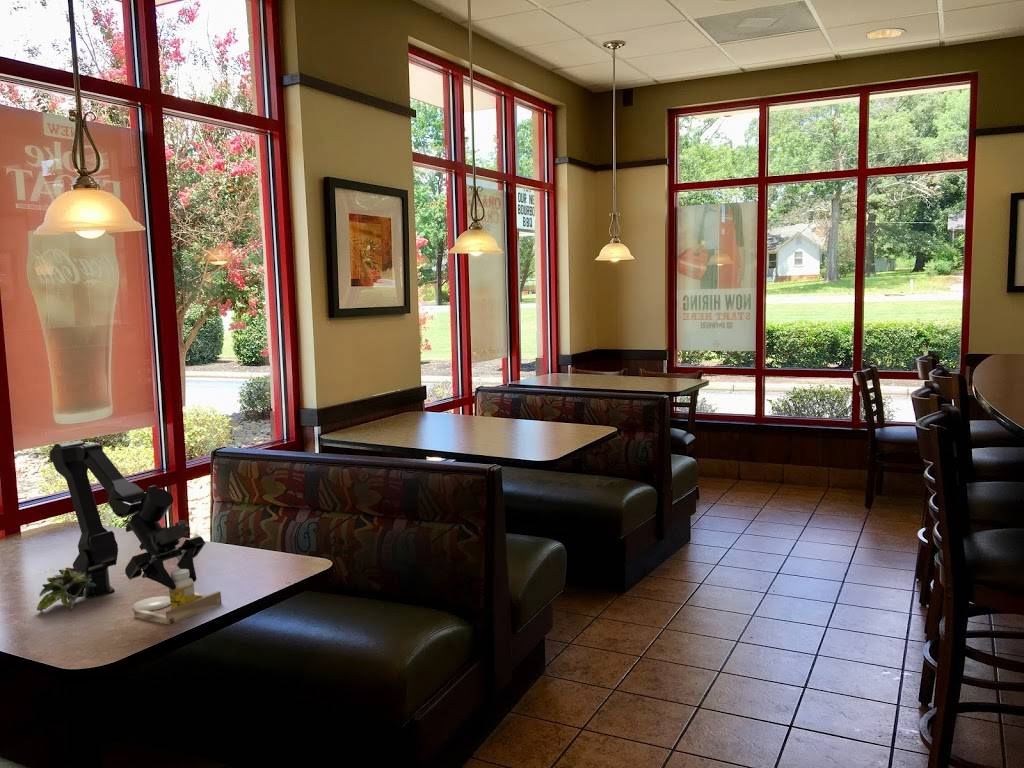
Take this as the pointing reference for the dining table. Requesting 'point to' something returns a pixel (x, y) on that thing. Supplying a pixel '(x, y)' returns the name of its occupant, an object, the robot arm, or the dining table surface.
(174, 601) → the supplement bottle
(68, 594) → the green leafy plant
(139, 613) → the wooden slat frame
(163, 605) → the coaster
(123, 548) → the dining table surface
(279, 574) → the dining table surface
